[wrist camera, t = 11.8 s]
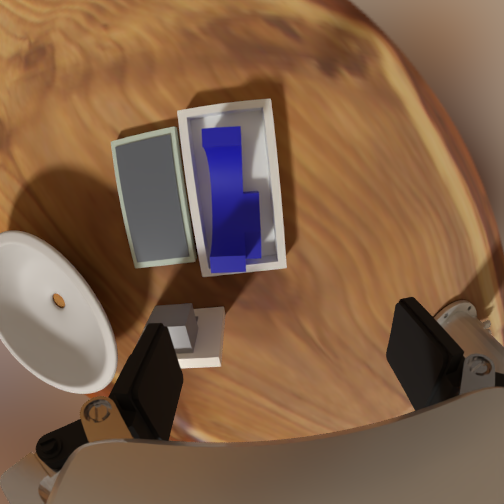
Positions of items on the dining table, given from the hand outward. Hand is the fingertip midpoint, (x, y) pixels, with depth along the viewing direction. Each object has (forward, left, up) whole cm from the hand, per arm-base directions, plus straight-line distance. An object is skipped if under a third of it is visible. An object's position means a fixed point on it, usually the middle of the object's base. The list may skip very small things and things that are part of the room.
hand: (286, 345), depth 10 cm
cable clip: (+2, -3, -20) cm, 20 cm away
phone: (+11, -4, -20) cm, 23 cm away
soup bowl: (+29, +7, -20) cm, 36 cm away
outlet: (+10, +9, -20) cm, 24 cm away
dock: (+2, -4, -20) cm, 20 cm away
